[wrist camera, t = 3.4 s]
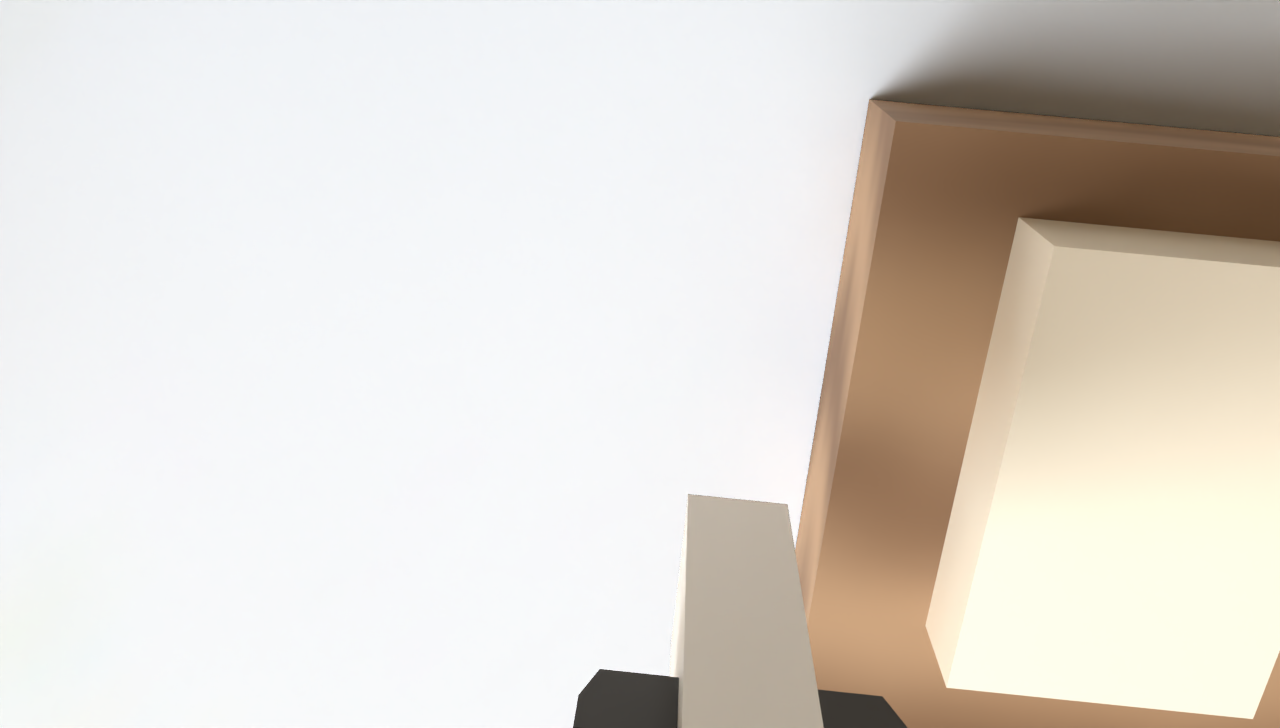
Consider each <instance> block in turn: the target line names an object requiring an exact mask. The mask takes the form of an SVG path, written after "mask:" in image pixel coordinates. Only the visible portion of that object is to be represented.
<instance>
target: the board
mask: <svg viewBox="0 0 1280 728" xmlns="http://www.w3.org/2000/svg"><path fill="white" fill-rule="evenodd" d="M1019 217H1022V218H1032V219H1043V220H1054V221H1064V222H1075V223H1086V224H1096V225H1107V226H1118V227H1128V228H1139V229H1150V230H1160V231H1171V232H1182V233H1192V234H1203V235H1214V236H1225V237H1235V238H1246V239H1257V240H1267V241H1278V242H1280V137H1275V136H1264V135H1253V134H1242V133H1231V132H1220V131H1209V130H1198V129H1188V128H1177V127H1166V126H1155V125H1144V124H1133V123H1122V122H1111V121H1100V120H1089V119H1078V118H1067V117H1057V116H1046V115H1035V114H1024V113H1013V112H1002V111H991V110H980V109H969V108H958V107H947V106H937V105H926V104H915V103H904V102H893V101H882V100H871V99H869V104H868V110H867V117H866V123H865V129H864V135H863V141H862V147H861V153H860V159H859V165H858V171H857V177H856V184H855V190H854V196H853V202H852V208H851V214H850V220H849V226H848V232H847V238H846V244H845V251H844V257H843V263H842V269H841V275H840V281H839V287H838V293H837V299H836V305H835V311H834V318H833V324H832V330H831V336H830V342H829V348H828V354H827V360H826V366H825V372H824V378H823V385H822V391H821V397H820V403H819V409H818V415H817V421H816V427H815V433H814V439H813V445H812V452H811V458H810V464H809V470H808V476H807V482H806V488H805V494H804V500H803V506H802V512H801V519H800V525H799V531H798V537H797V543H796V549H795V554H796V560H797V567H798V573H799V579H800V585H801V591H802V597H803V603H804V610H805V616H806V622H807V628H808V634H809V640H810V646H811V653H812V659H813V665H814V671H815V677H816V683H817V689H818V690H828V691H837V692H847V693H856V694H866V695H875V696H883V698H884V699H885V700H886V701H887V703H888V704H889V705H890V706H891V708H892V709H893V710H894V711H895V713H896V714H897V715H898V716H899V717H900V719H901V720H902V721H903V722H904V724H905V725H906V726H907V728H1280V651H1279V654H1278V657H1277V659H1276V662H1275V664H1274V667H1273V669H1272V672H1271V674H1270V677H1269V679H1268V682H1267V685H1266V687H1265V690H1264V692H1263V695H1262V697H1261V700H1260V702H1259V705H1258V708H1257V710H1256V713H1255V715H1254V718H1253V719H1247V718H1237V717H1227V716H1217V715H1208V714H1198V713H1188V712H1178V711H1169V710H1159V709H1149V708H1140V707H1130V706H1120V705H1110V704H1101V703H1091V702H1081V701H1071V700H1062V699H1052V698H1042V697H1032V696H1023V695H1013V694H1003V693H994V692H984V691H974V690H964V689H955V688H946V685H945V682H944V679H943V676H942V673H941V670H940V667H939V664H938V661H937V658H936V655H935V652H934V649H933V647H932V644H931V641H930V638H929V635H928V632H927V629H926V626H925V625H926V621H927V616H928V612H929V608H930V603H931V599H932V594H933V590H934V586H935V581H936V577H937V572H938V568H939V564H940V559H941V555H942V551H943V546H944V542H945V537H946V533H947V529H948V524H949V520H950V516H951V511H952V507H953V502H954V498H955V494H956V489H957V485H958V480H959V476H960V472H961V467H962V463H963V459H964V454H965V450H966V445H967V441H968V437H969V432H970V428H971V424H972V419H973V415H974V410H975V406H976V402H977V397H978V393H979V388H980V384H981V380H982V375H983V371H984V367H985V362H986V358H987V353H988V349H989V345H990V340H991V336H992V332H993V327H994V323H995V318H996V314H997V310H998V305H999V301H1000V297H1001V292H1002V288H1003V283H1004V279H1005V275H1006V270H1007V266H1008V261H1009V257H1010V253H1011V248H1012V244H1013V240H1014V235H1015V231H1016V226H1017V222H1018V218H1019Z"/></svg>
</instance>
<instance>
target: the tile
mask: <svg viewBox="0 0 1280 728" xmlns="http://www.w3.org/2000/svg"><path fill="white" fill-rule="evenodd" d="M925 626H926V629H927V632H928V635H929V638H930V641H931V644H932V647H933V649H934V652H935V655H936V658H937V661H938V664H939V667H940V670H941V673H942V676H943V679H944V682H945V685H946V688H955V689H964V690H974V691H984V692H994V693H1003V694H1013V695H1023V696H1032V697H1042V698H1052V699H1062V700H1071V701H1081V702H1091V703H1101V704H1110V705H1120V706H1130V707H1140V708H1149V709H1159V710H1169V711H1178V712H1188V713H1198V714H1208V715H1217V716H1227V717H1237V718H1247V719H1253V718H1254V715H1255V713H1256V710H1257V708H1258V705H1259V702H1260V700H1261V697H1262V695H1263V692H1264V690H1265V687H1266V685H1267V682H1268V679H1269V677H1270V674H1271V672H1272V669H1273V667H1274V664H1275V662H1276V659H1277V657H1278V654H1279V651H1280V242H1278V241H1267V240H1257V239H1246V238H1235V237H1225V236H1214V235H1203V234H1192V233H1182V232H1171V231H1160V230H1150V229H1139V228H1128V227H1118V226H1107V225H1096V224H1086V223H1075V222H1064V221H1054V220H1043V219H1032V218H1022V217H1019V218H1018V222H1017V226H1016V231H1015V235H1014V240H1013V244H1012V248H1011V253H1010V257H1009V261H1008V266H1007V270H1006V275H1005V279H1004V283H1003V288H1002V292H1001V297H1000V301H999V305H998V310H997V314H996V318H995V323H994V327H993V332H992V336H991V340H990V345H989V349H988V353H987V358H986V362H985V367H984V371H983V375H982V380H981V384H980V388H979V393H978V397H977V402H976V406H975V410H974V415H973V419H972V424H971V428H970V432H969V437H968V441H967V445H966V450H965V454H964V459H963V463H962V467H961V472H960V476H959V480H958V485H957V489H956V494H955V498H954V502H953V507H952V511H951V516H950V520H949V524H948V529H947V533H946V537H945V542H944V546H943V551H942V555H941V559H940V564H939V568H938V572H937V577H936V581H935V586H934V590H933V594H932V599H931V603H930V608H929V612H928V616H927V621H926V625H925Z"/></svg>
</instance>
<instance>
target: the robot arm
mask: <svg viewBox="0 0 1280 728" xmlns="http://www.w3.org/2000/svg"><path fill="white" fill-rule="evenodd" d="M573 728H907V726H906V725H905V724H904V722H903V721H902V720H901V719H900V717H899V716H898V715H897V714H896V713H895V711H894V710H893V709H892V708H891V706H890V705H889V704H888V703H887V701H886V700H885V699H884V698H883V696H875V695H866V694H856V693H847V692H837V691H828V690H818V689H817V683H816V677H815V671H814V665H813V659H812V653H811V646H810V640H809V634H808V628H807V622H806V616H805V610H804V603H803V597H802V591H801V585H800V579H799V573H798V567H797V560H796V554H795V548H794V542H793V536H792V530H791V524H790V517H789V511H788V505H787V504H780V503H770V502H760V501H751V500H741V499H731V498H721V497H711V496H701V495H691V494H688V499H687V508H686V517H685V525H684V534H683V543H682V552H681V561H680V569H679V578H678V587H677V596H676V604H675V613H674V622H673V631H672V640H671V655H670V677H669V676H660V675H650V674H641V673H631V672H622V671H612V670H603V669H600V670H599V671H598V672H597V673H596V675H595V676H594V677H593V678H592V679H591V681H590V682H589V683H588V684H587V686H586V687H585V688H584V689H583V690H582V692H581V693H580V694H579V696H578V702H577V708H576V714H575V720H574V726H573Z"/></svg>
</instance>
